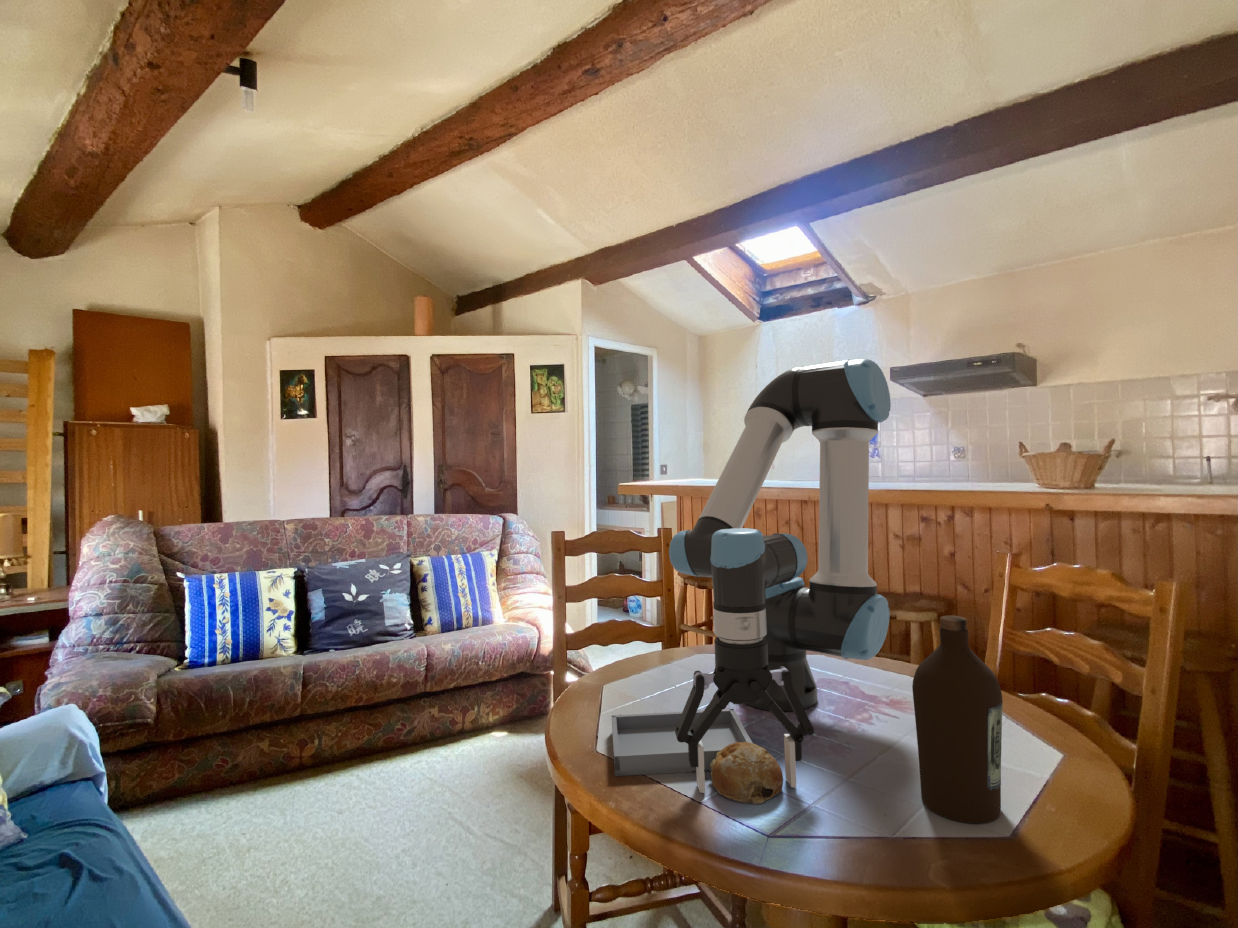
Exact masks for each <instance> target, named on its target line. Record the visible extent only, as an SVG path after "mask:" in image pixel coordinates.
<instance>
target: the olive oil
mask: <svg viewBox="0 0 1238 928" xmlns="http://www.w3.org/2000/svg"><path fill="white" fill-rule="evenodd" d="M939 620H940V626H939V639H940V643H939V645H938V647H937V648H936V649H934V650H933V651H932V652H931V653H930V654H929V655H928V656H926V658H925V659H923V661H921V662H920V664H919V665H918V666H917V668H916V669H915V672H914V675H913V679H912V685H911V686H912V688H911V689H912V700H913V707H914V709H913V710H914V719H915V728H916V729H915V733H916V743H917V753H918V767H919V779H920V780H919V781H920V783H919V784H920V795H921V800H922V802H923V804H924V805H925V806H926V807H927V808H928V809H929V810H930V811H932V812H933V813H935V814H937V815H939V816H941V817H943V818H946V819H949V820H952V821H956V822H960V823H966V824H984V823H985V824H986V823H990V822H994V821H995V820H997V819H998V818H999V817H1000V815H1001V809H1002V806H1001V805H1002V804H1001V803H1002V802H1001V801H1002V800H1001V799H1002V798H1001V797H1002V792H1001V791H1002V790H1001V789H1002V788H1001V786H1002V738H1003V737H1002V736H1003V735H1002V734H1003V733H1002V730H1003V728H1002V727H1003V702H1004V701H1003V692H1002V689H1001V686H1000V683H999V681H998V680H999V679H998V678H997V677H996V675H995V673H994V672H993V671H992V669H990V667H989V666H987V664H986V663H985V662H983V660H982V659H981V658H980V657H979V656H978V655H977V654H976V653H975V652H974V651H973V650H972V649H971V648H970V646H969V629H968V628H967V624H968V619H967V618H966V617H963V616H960V615H942V616H940V617H939Z"/></svg>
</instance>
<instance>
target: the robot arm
mask: <svg viewBox="0 0 1238 928" xmlns="http://www.w3.org/2000/svg"><path fill="white" fill-rule="evenodd" d="M890 411H891V394H890V389H889V385H888V381H887V378H886V376H885V375H884V372H883V370H882V369H881V368H880V366H879V365H878V363H876V362H875V361H873V360H871V359H867V358H862V359H845V360H842V361H841V360H840V361H834V362H827V363H822V364H820V363H819V364H815V365H808V366H804V365H802V366H797V367H794V368H793V367H792V368H790V369H788V370H786V371H785V372H783V373H781V374H780V375H778V376H776V377H775V378H774V379H772V380H771V381H770V382H768V383H767V385H766V386H765V387H764V388H762V390H761V391H760V392H759V393H758V394H757V396H756V397H755V398H754V400H753V401H752V402H751V404H750V406H749V408H748V409H747V411H746V414H745V416H744V417H743V421H744V429H743V430H742V432H741V434H740V437H739V439H738V441H737V442H736V445H735V446H734V448H733V450H732V452H731V454H730V456H729V458H728V460H727V462H726V464H725V466H724V468H723V470H722V472H721V474H720V476H719V478H718V479H717V482H716V483H715V485H714V488H713V490H712V492H711V493H710V496H709V497H708V499H707V502H706V503H705V505H704V507H703V509H702V512H701V513H700V515H699V517H698V519H697V521H696V522H695V525H694V527H693V528H692V530H690V529H686V530H680V531H679V532H677V533H675V534H674V536H673V537H672V539H671V540H670V543H669V549H668V556H669V561H670V564H671V566H672V567H673V568H674V570H675V571H677V572H678V573H680V574H683V575H688V576H693V577H697V578H699V577H700V578H701V577H703V578H704V577H705V578H711V580H712V581H711V582H712V595H713V601H712V602H713V603H712V604H713V605H712V606H713V608H712V609H713V610H712V611H713V634H714V635H715V636H716V638H715V639H714V664H715V667H714V671H713V672H712V673H708V672H707V673H702V672H701V671H700V670H695V671H694V673H693V681H692V688H691V691H690V693H689V695H688V697H687V699H686V703H685V704H684V707H683V710H682V711H681V712H682V714H681V717H680V719H679V722H678V724H677V727H676V729H675V734H676V737H677V740H678V741H679V742H685V743H687V744H688V754H689V762H690V765H691V767H696V785H697V788H698V791H699V793H700V794H702V793H703V794H705V793H706V780H705V779H706V777H705V775H706V774H705V771H704V747H703V744H702V742H701V739H702V737H703V736H704V735H705V733H706V732H707V731H708V729H709V728H710V726H711V725H712V724H713V722H714V721H715V719H716V718H717V717H718V715H719V714H720V712H721V711H722V710H723V709H727V706H728V705H729V704H730V703H732V704H733V705H741V704H743V703H744V704H746V705H747V706H751V707H753V708H756V709H760V710H765V711H770V712H771V714H772V715H774V717H775V718H776V719H777V720H778V721H779V723H780V724H781V725H782V726H783V727H784V728H785V730H786V731H787V732H788V733H784V734H783V741H784V743H783V745H784V746H783V747H784V769H785V770H784V771H785V780H786V781H787V783H788V784H789V786H790V788H797V771H796V769H797V765H796V763H797V762H801V761H802V758H803V754H802V753H803V750H802V743H803V742H804V740H805V736H812V735H814V734H815V728H814V726H813V724H812V722H811V720H810V718H809V716H808V714H807V712H806V711H805V709H807V708H810V707H812V706H814V705H815V704H816V703H817V702H818V687H817V683H816V681H815V678H814V676H813V673H812V671H811V667H810V665H809V662H808V659H807V652H814V653H819V654H822V655H829V656H834V657H839V658H842V659H844V660H849V659H851V660H859V661H868V660H871V659H873V658H874V657H875V656H876V655H877V654H878V653H879V652H880V650H881V648H882V647H883V645H884V643H885V641H886V637H887V634H888V629H889V625H890V624H889V623H890V615H891V614H890V607H889V602H888V600H887V598H886V597H884V596H883V595H881V594H879V593H878V589H877V588H878V585H877V584H878V583H877V582H876V581H875V580H874V579H873V578H872V577H871V576H870V574H869V488H870V487H869V484H870V483H869V481H870V480H869V478H870V477H869V475H870V474H869V473H870V472H869V470H870V468H869V467H870V466H869V465H870V462H869V461H870V460H869V459H870V457H869V456H870V450H869V449H870V442H871V441H872V439H873V438H875V437H876V435H878V433H879V428H878V427H879V423H883V422H884V421H886V420H887V419H888V418H889V416H890ZM803 427H811V435H812V436H813V437H814V438H816V439H817V440H818V442H819V490H818V491H819V493H818V494H819V499H818V501H819V502H818V503H819V504H818V505H819V506H818V511H819V512H818V562H817V563H818V570H817V571H816V573H815V574H814V575H812V576H811V578H810V579H809V587H808V586H807V587H806V586H805V585H806V583H805V581H804V579H803V578H802V577H799V576H801V575H802V574H803V573H804V571H805V570H806V568H807V565H808V552H807V549H806V547H805V545H804V543H803V541H801V539H800V538H798V537H797V536H795V535H793V534H790V533H786V532H784V533H778V532H775V533H772V534H770V535H769V534H767V535H766V534H763V533H762V531H761V530H759V529H755V528H747V527H746V528H744V526H745V524H746V521H747V519H748V517H749V515H750V513H751V510H752V508H753V506H754V504H755V501H756V499H757V497H758V495H759V493H760V491H761V488H762V486H763V485H764V482H765V480H766V478H767V476H768V473H769V471H770V470H771V467H772V465H773V463H774V460H775V458H776V457H777V454H778V452H779V450H780V448H781V446H782V443H785V442H787V441H788V440H790V438H791V437H792V434H793V433H794V431H795V430H797V429H799V428H803ZM713 683H714V685H715V687H717V690H716V691H715V692H714V694H713V696H712V699H711V700H710V702H709V703H708V705H707V706H706V707H705V709H703V710H702V711H703V713H702V714H701V715H700V717H699V718H698V720H697V721H696V722H695V724H694V725H693V727H692V728H691V729H690V727H691V724H692V722H693V719H694V717H695V715H696V712H697V711H699V710H698V709H699V707H700V704H701V702H702V700H703V697H704V693H705V690H708V689H709V688H710V685H711V684H713ZM785 712H794V713H793V714H794V715H795V717H796V719H797V720H798V724H796V725H795V724H794V722H792V720H791V719H790V718H789V717H788V715H787V714H786V713H785ZM689 729H690V731H689Z"/></svg>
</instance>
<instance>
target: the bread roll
mask: <svg viewBox="0 0 1238 928" xmlns="http://www.w3.org/2000/svg"><path fill="white" fill-rule="evenodd" d="M710 768H711V769H712V771H710V777H711V782H712V783H711V784H712V786H713V787H714V789H715V790H716V791H717V793H718V794H719V795H720V796H723V797H725V798H727V799H729V800H731V799H732V800H731V801H733V800H734V801H733V802H736V801H738V802H737V803H741V802H743V803H742V804H753V805H756V806H757V805H762V803H765V802H766V801H769V800H771V799H773V797H775V796H777V794H778V795H779V794H780V793H781V791H782V789H783V785H784V774H783V771H782V768H781V766H780V764H779V763H778V761H777V759H775V757H774V756H772V754H771V753H769V752H768V750H767V749H766V748H764V747H762V746H760V745H758V744H756V743H753V742H752V743H749V742H737V743H733V744H730V745H728V746H726V747H724V748H723V749H722V750H721V751H719V752H717V755H716V758H715V759H714V760H712V763H711V764H710Z"/></svg>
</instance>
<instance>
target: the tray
mask: <svg viewBox="0 0 1238 928" xmlns="http://www.w3.org/2000/svg"><path fill="white" fill-rule="evenodd" d="M703 711H704V710H697V712H696V715H695V717H694V719H693V722H692V724H691V727H690V729H691V728H692V727H693V725H694V724H695V722H696V721H697V720H698V718H699V717H700V715H701V714H702V713H703ZM682 712H683V711H669V712H651V713H635V714H633V713H632V714H617V715H616V714H615V715H613V714H612V715H611V733H612V736H611V737H612V748H613V750H612V752H613V765H614V777H624V776H625V777H626V776H640V775H641V776H642V775H654V774H653V773H662V774H676V773H678V772H679V773H693V772H692V771H696V767H691V765H690V762H689V754H688V744H687V743H685V742H679V741H678V740H677V737H676V734H675V729H676V727H677V724H678V722H679V719H680V717H681V714H682ZM690 729H689V731H690ZM701 742H702V744H703V747H704V770H712V769H711V768H710V764H711V763H712V760H714V759H715V758H716V755H717V752H719V751H721V750H722V749H723V748H724V747H726V746H728V745H730V744H733V743H737V742H749V743H753V741H752V739H751V737H750V736H749V734H748V732H747V730H746V728H745V727H744V725H743V723H742V721H741V720H740V718H739V716H738V715H737V712H736V710H735V708H725V709H723V710H722V711H721V712H720V714H719V715H718V717H717V718H716V719H715V721H714V722H713V724H712V725H711V726H710V728H709V729H708V731H707V732H706V733H705V735H704V736H703V737H702V739H701ZM673 772H674V773H673Z"/></svg>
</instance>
